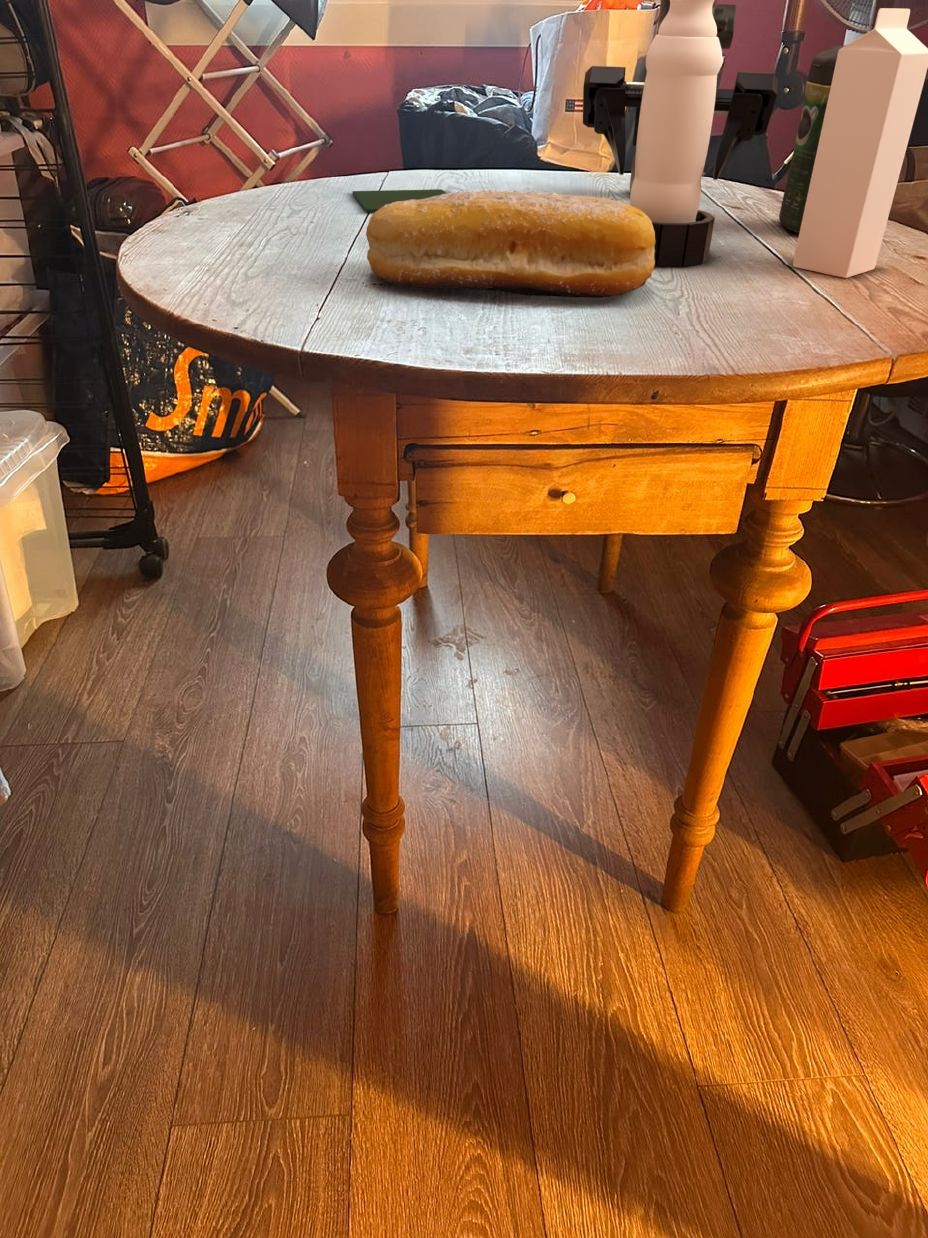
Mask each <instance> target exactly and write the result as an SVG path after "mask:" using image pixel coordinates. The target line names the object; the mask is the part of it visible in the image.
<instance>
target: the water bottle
mask: <svg viewBox="0 0 928 1238" xmlns="http://www.w3.org/2000/svg"><path fill="white" fill-rule="evenodd" d="M714 1H715V0H670V8H669V11H668V13H667V15H666V17H665V18H664V20H663V21H662V23H661V25H660V27H659V30H658V35H656V34H655V36H654V38H653V40H652V41H651V44H650V45H649V47H648V50H647V53H646V56H645V69H646V74H647V75H646V74H645V79H644V82H645V84H644V90H643V96H642V102H641V109H640V117H639V125H638V134H637V144H636V146H635V155H636V156H635V155H634V156H635V178H634V180H633V184H632V188H631V192H630V196H629V204H630V205H632V206H634V207H636V208H638V209H640V210H641V211H642V212H644V213H645V214H646V215H647V216H648V217H649V218H650V220H651V221H652V222H658V223H690V222H695V220H696V215H697V212H698V210H699V208H700V203H701V196H702V177H703V174H704V169H705V165H706V160H707V156H708V151H709V144H710V140H711V132H712V127H713V119H714V114H713V113H714V106H715V97H716V89H717V85H718V84H717V83H718V74H719V72H720V71H721V69H722V63H723V49H721V46H720V42H719V38H718V37H716V35H717V26H716V23H715V20H714V18H713V15H712V5H713V2H714ZM679 36H680V37H679Z"/></svg>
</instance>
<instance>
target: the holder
mask: <svg viewBox="0 0 928 1238" xmlns="http://www.w3.org/2000/svg"><path fill="white" fill-rule="evenodd" d="M715 220H716V219H715V216H714V215H712V214H711V213H709V212H707V211H704V210H701V209H698V212H697V215H696V220H695V222H690V223H658V222H652V225H653V228H654V231H655V245H654V250H655V253H654V260H655V265H654V268H655V267H656V268H682V267H683V268H684V267H691V266H697V265H702V264H703V263H705V262H706V261H707V260H708V259H709V257H710V256H709V255H710V250H711V245H712V238H713V232H714V226H715Z"/></svg>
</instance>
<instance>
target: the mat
mask: <svg viewBox="0 0 928 1238" xmlns="http://www.w3.org/2000/svg"><path fill="white" fill-rule="evenodd" d="M442 194H448V193H447V192H446V191H445V190H443V189H441V188H440V189H439V188H437V189H396V190H395V189H389V190H352V195H353V197H354V198H355V199H356V201H357V202H358V204H359V205H360V206H361V208H362V209H363V210H364V212H365V213H366V214H370V213H372V214H374V213H375V212H376V211H377V210H379V209H380V208H382V207H383V206H385V205H386V204H391V203H392V202H397V201H406V200H411V199H413V200H419V199H425V198H430V197H433V196H439V195H442Z"/></svg>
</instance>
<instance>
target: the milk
mask: <svg viewBox="0 0 928 1238" xmlns="http://www.w3.org/2000/svg"><path fill="white" fill-rule="evenodd" d="M910 15H911V9H910V8H891V7H890V8H889V7H888V8H887V7H885V8H884V7H883V8H881V7H880V8H879V9H878V11H877V15H876V19H875V23H874V27H873V29H872V30H870V31H868V32H866V33H864V34H862V35H861V36H859V37H857V38H856V39H854V40H853V41H851V42H849V43H848V44H845V45H846V46H844V47H843V48H841V49H839V51H838V56H837V60H836V65H835V70H834V74H833V79H832V84H831V88H830V93H829V98H828V102H827V107H826V112H825V116H824V121H823V126H822V130H821V135H820V140H819V144H818V149H817V154H816V158H815V163H814V168H813V172H812V177H811V182H810V186H809V191H808V196H807V200H806V205H805V210H804V214H803V219H802V224H801V228H800V233H798V238H797V243H796V246H795V252H794V258H793V262H792V267H793V268H797V269H803V270H807V271H811V272H816V273H819V274H825V275H829V276H832V277H833V276H834V277H838V278H842V279H847V278H851V277H855V276H857V275H860V274H863V273H866V272H870V271H872V270H875V268H876V265H877V262H878V258H879V255H880V250H881V248H882V243H883V239H884V236H885V231H886V228H887V223H888V219H889V216H890V212H891V209H892V206H893V205H892V204H893V201H894V198H895V194H896V189H897V185H898V182H899V178H900V174H901V171H902V166H903V163H904V159H905V156H906V151H907V147H908V144H909V141H910V137H911V133H912V129H913V125H914V121H915V117H916V114H917V110H918V106H919V104H920V103H919V102H920V99H921V95H922V91H923V88H924V83H925V79H926V75H927V71H928V47H927V46H926V45H925V44H924V43H922V41H920V39H918V38H917V37H916V35H914V34H913V33H912V32H911V31H910V30H909V29H908V23H909V19H910Z"/></svg>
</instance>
